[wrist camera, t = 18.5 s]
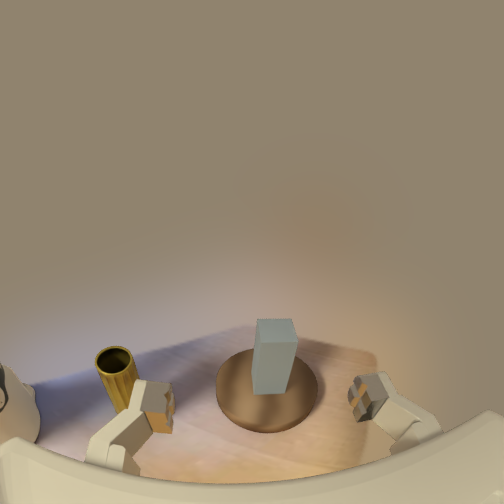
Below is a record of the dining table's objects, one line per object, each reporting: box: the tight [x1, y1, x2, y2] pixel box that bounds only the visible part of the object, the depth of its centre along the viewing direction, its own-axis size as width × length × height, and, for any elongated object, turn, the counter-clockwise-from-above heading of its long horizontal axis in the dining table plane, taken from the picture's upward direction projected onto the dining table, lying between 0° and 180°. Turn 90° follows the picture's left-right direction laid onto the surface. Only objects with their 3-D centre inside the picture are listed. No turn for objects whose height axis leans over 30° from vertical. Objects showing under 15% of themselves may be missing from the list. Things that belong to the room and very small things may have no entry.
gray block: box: [251, 319, 299, 395], centre depth 39 cm, size 5×5×12 cm
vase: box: [95, 346, 140, 414], centre depth 32 cm, size 6×6×14 cm
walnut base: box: [216, 349, 318, 433], centre depth 42 cm, size 17×17×3 cm
